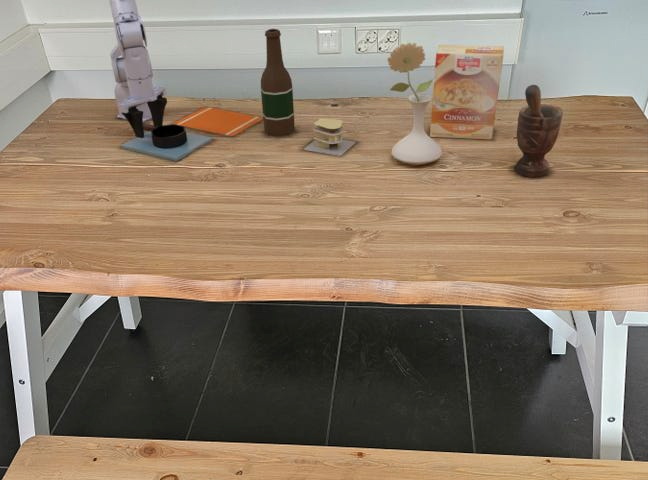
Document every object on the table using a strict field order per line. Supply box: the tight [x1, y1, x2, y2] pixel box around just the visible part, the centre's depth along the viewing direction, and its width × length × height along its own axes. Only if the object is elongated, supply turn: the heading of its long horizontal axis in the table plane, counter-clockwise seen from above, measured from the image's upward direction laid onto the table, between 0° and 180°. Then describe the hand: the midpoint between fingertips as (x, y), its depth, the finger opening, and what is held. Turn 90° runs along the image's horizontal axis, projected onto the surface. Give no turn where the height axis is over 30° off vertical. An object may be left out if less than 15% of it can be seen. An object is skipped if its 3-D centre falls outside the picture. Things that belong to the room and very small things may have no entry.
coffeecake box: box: [429, 44, 505, 141], centre depth 161 cm, size 15×7×20 cm, turn 76°
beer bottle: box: [260, 28, 295, 138], centre depth 165 cm, size 8×8×24 cm
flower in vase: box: [387, 42, 443, 165], centre depth 149 cm, size 13×11×25 cm
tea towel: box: [172, 106, 263, 137], centre depth 181 cm, size 20×14×1 cm
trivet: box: [120, 131, 214, 162], centre depth 170 cm, size 18×14×1 cm
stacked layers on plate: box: [302, 117, 357, 157], centre depth 163 cm, size 10×9×6 cm
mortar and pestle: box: [513, 84, 564, 178], centre depth 141 cm, size 12×9×20 cm
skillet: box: [143, 122, 187, 149], centre depth 169 cm, size 14×8×3 cm, turn 57°
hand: (149, 132), depth 171 cm, fingers open, 6 cm apart
